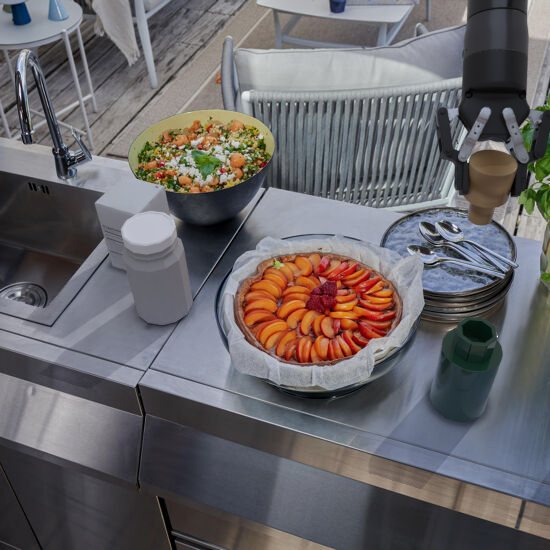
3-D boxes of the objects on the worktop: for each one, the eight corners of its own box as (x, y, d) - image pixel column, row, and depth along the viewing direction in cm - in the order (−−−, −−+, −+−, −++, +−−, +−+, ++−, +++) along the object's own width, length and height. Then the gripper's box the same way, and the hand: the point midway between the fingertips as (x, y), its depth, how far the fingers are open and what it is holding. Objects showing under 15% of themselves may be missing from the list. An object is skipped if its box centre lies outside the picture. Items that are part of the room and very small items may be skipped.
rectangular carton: (138, 237, 124) (123, 173, 113) (178, 249, 121) (166, 184, 110) (110, 267, 118) (92, 202, 107) (151, 280, 115) (136, 215, 104)
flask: (482, 380, 97) (504, 311, 86) (488, 425, 91) (512, 357, 81) (428, 376, 98) (444, 306, 87) (431, 420, 92) (448, 352, 82)
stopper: (499, 206, 84) (514, 150, 78) (504, 233, 80) (520, 177, 74) (455, 203, 85) (467, 148, 79) (458, 230, 81) (471, 174, 75)
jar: (140, 289, 113) (120, 208, 101) (195, 286, 113) (182, 205, 101) (133, 330, 106) (111, 249, 94) (192, 327, 106) (177, 246, 94)
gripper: (440, 45, 75) (434, 189, 75) (567, 46, 74) (562, 193, 73) (430, 67, 82) (424, 198, 82) (545, 68, 81) (540, 201, 81)
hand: (489, 194), depth 78 cm, fingers closed on stopper, 5 cm apart
